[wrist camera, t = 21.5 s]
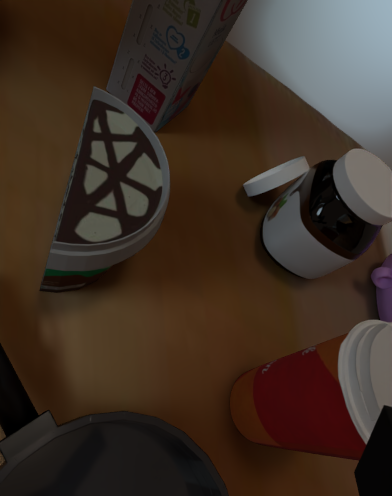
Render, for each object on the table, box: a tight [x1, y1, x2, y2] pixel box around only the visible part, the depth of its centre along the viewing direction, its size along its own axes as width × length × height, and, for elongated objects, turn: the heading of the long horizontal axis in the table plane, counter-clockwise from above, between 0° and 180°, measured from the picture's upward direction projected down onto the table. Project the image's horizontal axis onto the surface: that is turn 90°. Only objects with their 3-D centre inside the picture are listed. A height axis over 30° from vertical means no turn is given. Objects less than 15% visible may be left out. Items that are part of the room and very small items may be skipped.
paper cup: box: [230, 320, 392, 460], centre depth 24 cm, size 8×8×14 cm
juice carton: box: [106, 0, 247, 132], centre depth 30 cm, size 7×7×22 cm
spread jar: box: [243, 149, 392, 279], centre depth 34 cm, size 12×11×12 cm
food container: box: [40, 86, 170, 292], centre depth 25 cm, size 12×6×10 cm, turn 179°
